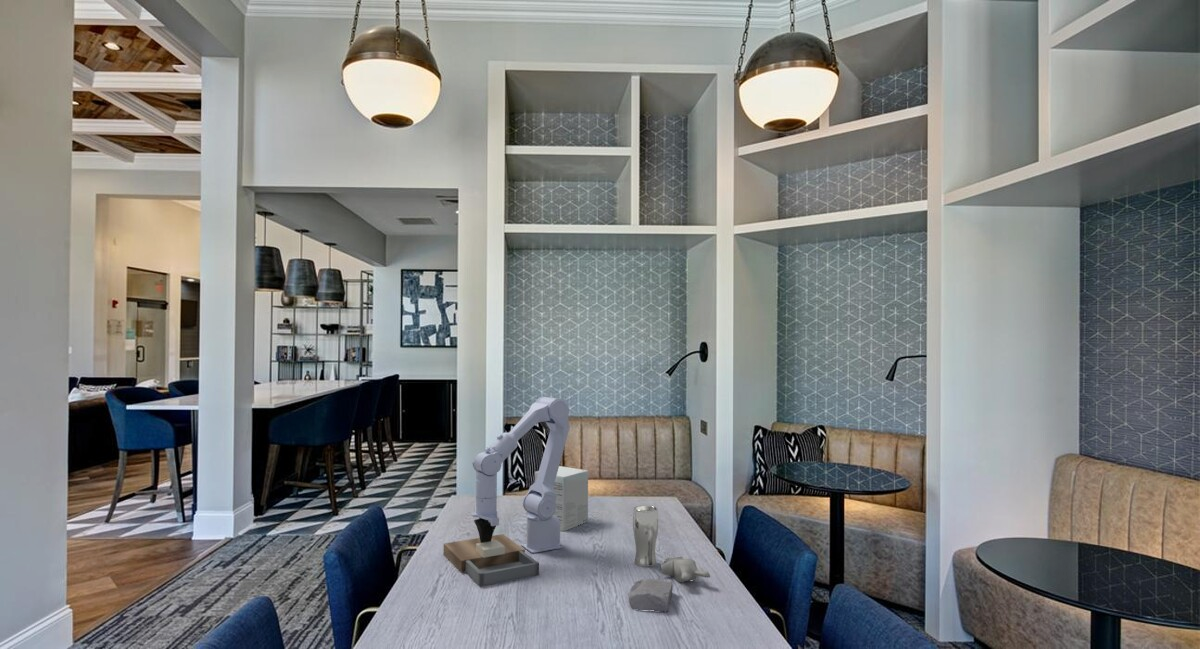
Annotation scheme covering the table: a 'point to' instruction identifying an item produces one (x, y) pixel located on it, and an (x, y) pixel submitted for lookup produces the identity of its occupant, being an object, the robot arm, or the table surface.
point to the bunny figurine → (682, 569)
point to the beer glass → (645, 534)
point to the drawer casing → (467, 551)
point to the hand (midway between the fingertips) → (485, 545)
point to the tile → (490, 548)
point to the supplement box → (571, 497)
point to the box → (503, 571)
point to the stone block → (650, 595)
